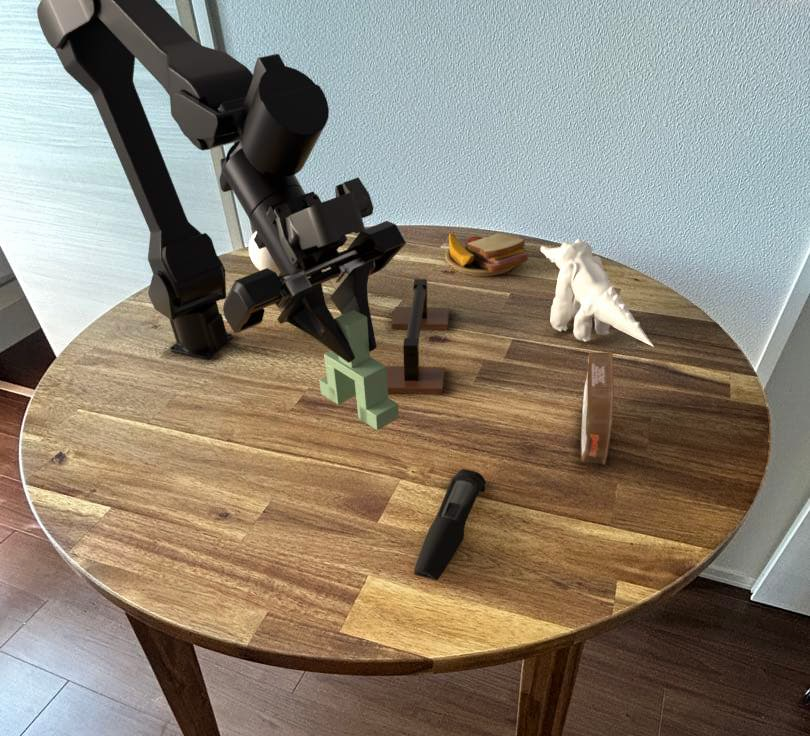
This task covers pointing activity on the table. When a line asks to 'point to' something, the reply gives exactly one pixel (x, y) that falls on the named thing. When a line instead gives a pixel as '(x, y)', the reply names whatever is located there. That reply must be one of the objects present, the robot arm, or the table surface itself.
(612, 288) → the toy dinosaur
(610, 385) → the brown product box
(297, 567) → the table surface
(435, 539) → the electric trimmer
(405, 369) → the toy hurdle
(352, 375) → the green stepped block figure
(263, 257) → the lightbulb
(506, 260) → the toy sandwich meal
